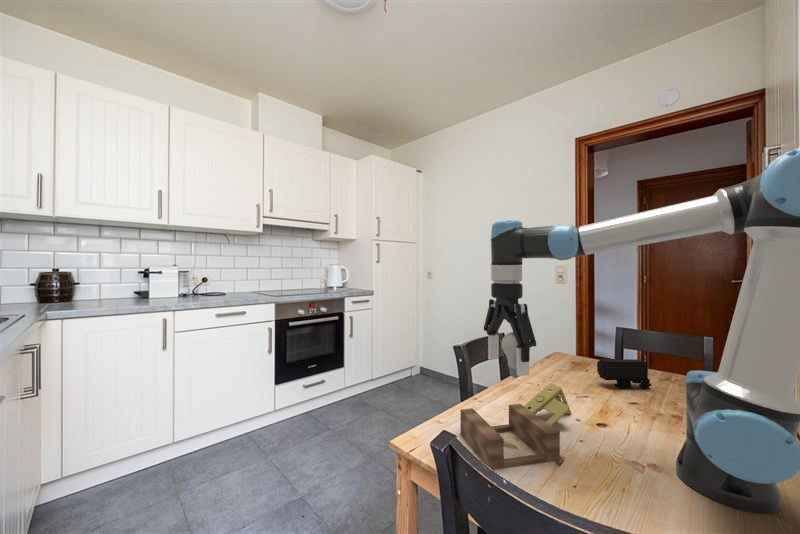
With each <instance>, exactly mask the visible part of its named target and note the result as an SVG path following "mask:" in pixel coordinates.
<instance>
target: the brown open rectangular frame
mask: <svg viewBox="0 0 800 534" xmlns="http://www.w3.org/2000/svg"><path fill="white" fill-rule="evenodd" d="M501 433H513V434H514V435H515V436H516V437H517V438H518V439H520V441H522V443H524V444H525V445H526V446H528V448H530V449H531V450H532V451H533V452H534V453H536V454H531V455H530V454H529V455H523V456H521V455H520V456H515V457H514V456H513V457H509V458H505V456H504V455H505V451H504V450H505V448H507V449H511V450H517V451H521V449H520V448H519V447H518V446H517V445H516V444H515V443H513V441H511V439H508V440H505V438H504V437H503V436H502V435H500V434H501ZM460 435H461V437H462V438H463V439H464V440H465V442H466V443H467V445H468V446H470V448H471V450H472V451H474V453H475V454H476V455H477V457H478V458H479V459H480V461H481V462H482V463H483V464H484V465H485V464H486V465H487V466H488V467H490V468H491V469H492V470H491V471H493V470H495V471H496V470H501V469H507V468H509V469H510V468H515V467H522V466H523V467H524V466H529V465H537V464H544V463H552V462H558V461H560V460H561V456H560V455H561V445H560V444H561V439H560V438H561V433H560V430H558V429H557V428H555V427H554V426H553V425H552V426H551V425H549V424H548V423H547V422H546V420H544V419H542V418H541V417H539V416H538V415H537V414H534V413H532V412H531V411H530V410H528V409H527V408H525V407H524V405H523V404H521V403H513V404H508V423H507V424H499V425H490V424H489V422H487V420H485V419H484V418H483V417H482V416H481V415H480V414H479V413H478V412H477V411H476V410H475V409H474V408H473V407H472V408H462V409H460ZM486 465H485V466H486ZM487 466H486V467H487Z"/></svg>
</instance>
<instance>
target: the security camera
mask: <svg viewBox="0 0 800 534" xmlns="http://www.w3.org/2000/svg"><path fill="white" fill-rule="evenodd" d="M596 364H597V365H596V370H597V374H598V375H599V377H600V378H601V379H603V380H605V381H616V383H614V386H615V387H616V388H619V389H631V388H632V383H633V384H638V387H640V388H642V389H650V387H652V383H651V379H650V378H649V372H648V371H649V370H648V369H649V367H648V366H647V364H645V361H643V360H640V359H633V358H632V359H628V358H625V359H623V358H621V359H619V358H618V359H617V358H616V359H615V358H613V359H611V358H605V359H604V358H602V359H601V358H600V359H599V360H598V361H597V363H596Z"/></svg>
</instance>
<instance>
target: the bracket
mask: <svg viewBox="0 0 800 534" xmlns="http://www.w3.org/2000/svg"><path fill="white" fill-rule="evenodd" d="M523 406H524V407H525V408H527V409H528V410H530V411H531V412H532V413H534V414H535V415H537V413H538V412H542V411H543V410H545V411H547V412H548V413H550V414H551V415H552V416H551V417H550V418H549V419H547V420H545V422H547V423H548V424H549V425H551V426H552V427H553V425H555V423H557V422H558V421H559V420H560V419H562V417H563V416H565V415H566V414H568V415H572V411H571V408H570V406H569V404H568V401H567V399H566V396H565V393H564V391H563V388H561V386H559V385H555V383H548V385H547V386H545V388H543V389H542V390H540V392H538V393H537V394H536V395H535V396H534V397H532V398H531V399H530V400H529V401H528V402H526V404H524V405H523Z"/></svg>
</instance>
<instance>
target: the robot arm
mask: <svg viewBox="0 0 800 534" xmlns="http://www.w3.org/2000/svg"><path fill="white" fill-rule="evenodd" d="M717 232H724V233H727V234H728V235H735V234H741V233H745V234H747V235H748V236H749V237H750V238H751V239H752V241H753V243H752V246H751V250H750V253H749V256H748V257H749V258H748V259H747V260H748V262H747V265H746V268H745V273H744V274H743V275H744V276H743V279H742V283H741V285H740V290H739V294H738V296H737V297H738V298H737V301H736V305H735V307H734V308H735V309H734V313H733V315H732V320H731V323H730V327H729V331H728V334H727V338H726V342H725V345H724V348H723V352H722V356H721V361H720V364H719V368H718V370H717V372H716V371H707V370H691V371H690V370H689V371H688V372H687V373H686V380H685V382H684V385H686V389H685V391H686V393H685V394H686V395H685V396H686V398H685V400H686V405H685V406H686V413H685V414H686V421H685V422H686V424H685V425H686V429H685V430H686V436H685V437H686V438H685V440H684V442H683V444H682V447H681V449H680V451H679V453H678V455H677V457H676V460H675V473H676V476H678V478H679V479H680V480H681V482H683V483H684V484H685V485H687V486H688V487H689V488H691V489H692V490H693V491H696V492H697V493H698V494H701V495H703V496H705V497H707V498H709V499H711V500H713V501H715V502H717V503H720V504H722V505H725V506H729V507H730V508H734V509H736V510H737V509H738V510H742V511H744V512H745V511H746V512H749V513H757V514H774V513H778V512H780V511H781V509H782V494H781V491H780V488H779V487H778V484H777V483H783V482H787V481H789V480H791V479H792V478H795V476H796V475H797V474H798V473H799V472H800V443H799V442H798V441H797V435H798V432H799V429H800V403H799V402H798V400H796V398H795V397H794V395H793V393H794V390H795V388H796V387H795V386H796V384H797V383H796V382H797V380H798V377H799V375H800V374H799V373H800V146H799V147H797V148H794V149H792V150H789V151H787V152H786V153H782V154H781V155H780V156H778V157H776V158H775V159H774V160H772V161H771V162H770V163H769V164H767V166H766V167H765V169H764V170H763V171H762V172H761V173H760V174H758V175H756V176H754V177H753V178H751V179H749V180H746V181H743V182H741V183H738V184H735V185H731V186H727V187H726V186H725V187H722V188H719V189H718V190H717V191H716V192H715V193H714V194H713V195H711V196H706V197H702V198H696V199H693V200H687V201H684V202H680V203H676V204H675V203H674V204H671V205H667V206H662V207H658V208H654V209H650V210H646V211H640V212H636V213H632V214H629V215H624V216H619V217H615V218H612V219H611V218H610V219H606V220H602V221H598V222H594V223H589V224H585V225H580V226H578V227H576V226H575V225H573V224H555V225H546V226H535V227H534V226H533V227H524V226H523V222H522V221H521V220H515V219H509V220H507V219H506V220H499V221H498V220H497V221H495V222H494V223H493V224H492V226H491V237H490V249H491V250H490V251H491V252H490V253H491V262H490V263H491V264H490V274H491V275H490V280H491V281H492V284H491V290H490V292H491V294H490V295H491V298H492V299H491V298H489V299H488V308H487V314H486V317H485V321H484V325H483V331H484V332H486V335H488V336H487V337H488V339H487V342H488V343H487V345H488V346H487V347H488V348H487V354H488V355H487V356H488V360H489V361H491V360H499V359H500V356H499V355H500V354H499V351H500V350H499V346H500V345H499V343H500V341H499V340H500V339H499V336H500V335H499V329H500V327H501V325H502V324H503V322H504V320H506V322H507V323H508V324H510V327H511V330H512V332H514V335H515V337H516V340H517V342H518V344H519V345H517V346H516V347H517V375H518V376H519V377H521V376H529V375H530V355H531V354H530V350H531V347H533V348H534V347H537V341H536V337H535V334H534V331H533V327H532V324H531V320H530V316H529V310H528V304H527V303H519V299H522V298H523V295H524V294H523V292H524V291H523V289H524V288H523V286H524V285H523V283H521V281H523V259H553V260H558V261H567V260H570V259H573V258H577V257H582V256H588V255H594V254H599V253H604V252H611V251H616V250H622V249H628V248H632V247H637V246H644V245H650V244H655V243H661V242H666V241H667V242H668V241H671V240H677V239H683V238H690V237H695V236H700V235H705V234H712V233H717ZM522 341H523V342H522Z"/></svg>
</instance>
